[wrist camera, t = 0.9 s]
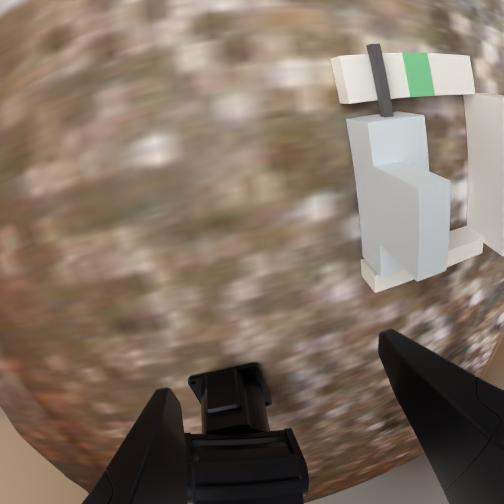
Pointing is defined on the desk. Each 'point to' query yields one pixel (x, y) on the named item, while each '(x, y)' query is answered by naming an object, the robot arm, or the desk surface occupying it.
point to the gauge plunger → (398, 188)
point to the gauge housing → (478, 141)
